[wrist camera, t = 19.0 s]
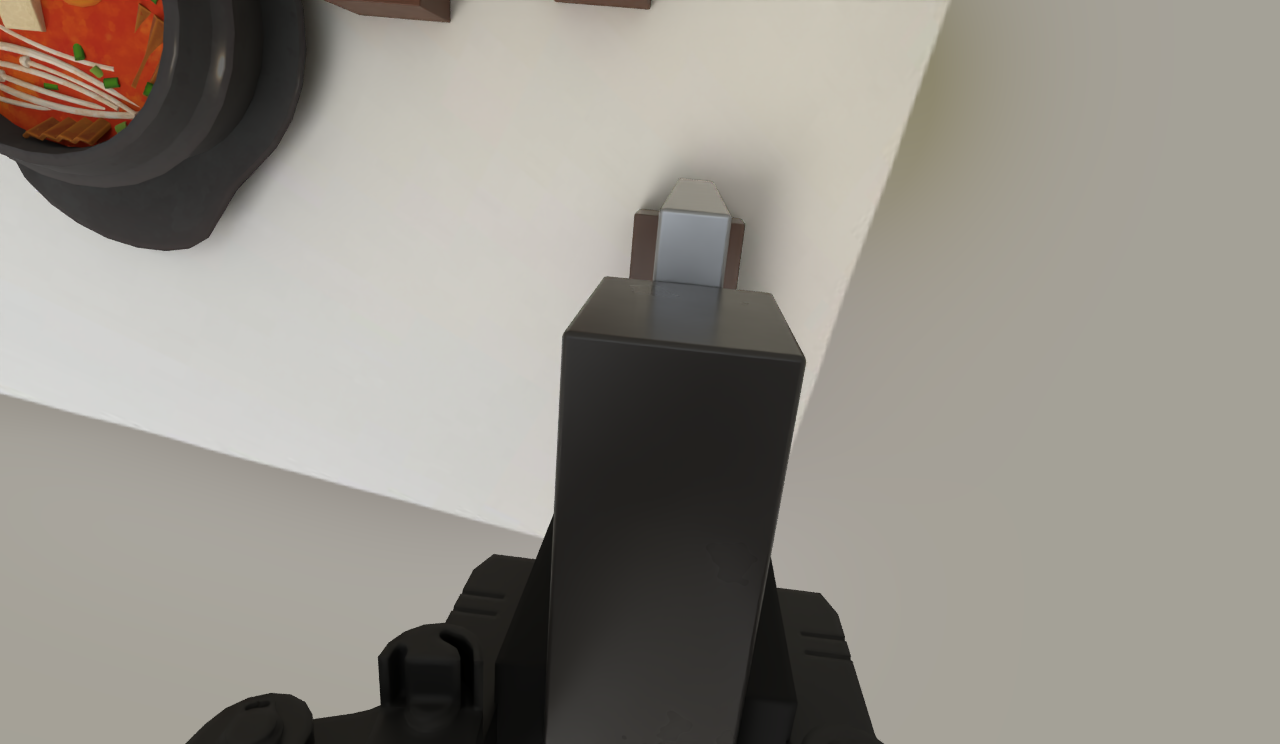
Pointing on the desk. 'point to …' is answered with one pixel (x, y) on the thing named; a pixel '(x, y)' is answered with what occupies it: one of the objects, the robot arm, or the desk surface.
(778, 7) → the desk surface
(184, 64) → the casserole
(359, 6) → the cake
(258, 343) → the desk surface
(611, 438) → the knife
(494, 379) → the desk surface
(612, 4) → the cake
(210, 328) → the desk surface
